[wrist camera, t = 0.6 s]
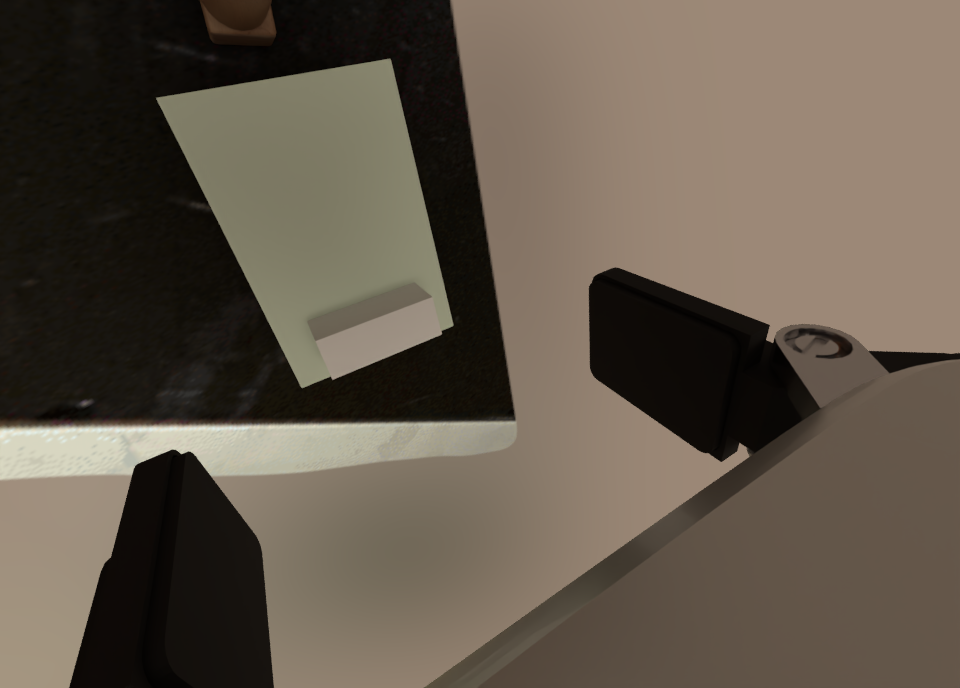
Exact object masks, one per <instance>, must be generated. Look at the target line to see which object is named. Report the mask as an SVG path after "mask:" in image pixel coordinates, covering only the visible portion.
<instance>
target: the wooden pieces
mask: <svg viewBox="0 0 960 688" xmlns="http://www.w3.org/2000/svg"><path fill="white" fill-rule="evenodd" d="M271 2H272V0H200V3H201V7H202V11H203V14H204V18H205V22H206V26H207V29H208V33H209V37H210V39H211V41H212V42H213V43H215V44H222V45H248V46H270V45H272V43H273V41H274V39H275V37H276V28H275V23H274V19H273V14H272V9H271Z"/></svg>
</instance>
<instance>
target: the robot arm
mask: <svg viewBox="0 0 960 688" xmlns="http://www.w3.org/2000/svg"><path fill="white" fill-rule="evenodd" d="M589 322H590V323H589V327H590V328H589V331H590V369H591V372H592V374H593V376H594V377H595V378H596V379H597V380H598V381H600V382H602V383H603V384H604V385H606V386H607V387H609V388H610V389H611V390H613V391H614V392H616V393H617V394H619V395H620V396H621V397H623V398H624V399H626V400H627V401H629V402H630V403H631V404H633V405H634V406H636V407H637V408H639V409H640V410H641V411H643V412H644V413H646V414H647V415H649V416H650V417H651V418H653V419H654V420H656V421H657V422H659V423H660V424H662V425H663V426H664V427H666V428H667V429H669V430H670V431H672V432H673V433H674V434H676V435H677V436H679V437H680V438H682V439H683V440H684V441H686V442H687V443H689V444H690V445H692V446H693V447H694V448H696V449H697V450H699V451H701V452H703V453H709V454H710V455H712V456H713V457H715V458H716V459H718V460H719V461H721V462H722V461H724V460H725V459H727V458H728V457H729V456H731V455H732V454H734V453H735V452H737V449H738V446H739V443H741V444H742V445H744V446H746V447H747V451H748V454H749V456H750V457H749V458H747V459H746V460H745V461H743V462H742V463H740V464H739V465H737V466H736V467H735V468H734V469H732V470H730V471H729V472H728V473H726V474H725V475H723V476H722V477H720V478H719V479H717V480H716V481H715V482H713V483H712V484H710V485H709V486H707V487H706V488H704V489H703V490H702V491H700V492H699V493H698V494H696V495H695V496H693V497H692V498H690V499H689V500H688V501H686V502H685V503H683V504H682V505H680V506H679V507H678V508H676V509H675V510H673V511H672V512H670V513H669V514H668V515H666V516H665V517H663V518H662V519H660V520H659V521H658V522H657V523H655V524H654V525H652V526H651V527H649V528H648V529H646V530H645V531H643V532H642V533H641V534H639V535H638V536H637V537H635V538H634V539H632V540H631V541H629V542H628V543H627V544H625V545H624V546H622V547H621V548H620V549H618V550H617V551H615V552H614V553H613V554H611V555H610V556H608V557H607V558H605V559H604V560H603V561H601V562H600V563H598V564H597V565H595V566H594V567H593V568H591V569H590V570H588V571H587V572H586V573H584V574H583V575H581V576H580V577H578V578H577V579H576V580H574V581H573V582H572V583H570V584H569V585H567V586H566V587H564V588H563V589H562V590H560V591H559V592H557V593H556V594H555V595H553V596H552V597H550V598H549V599H548V600H546V601H545V602H544V603H542V604H541V605H539V606H538V607H536V608H535V609H534V610H532V611H531V612H529V613H528V614H527V615H525V616H524V617H522V618H521V619H520V620H518V621H517V622H515V623H514V624H513V625H511V626H510V627H508V628H507V629H506V630H504V631H503V632H501V633H500V634H499V635H497V636H496V637H494V638H493V639H492V640H490V641H489V642H487V643H486V644H485V645H483V646H482V647H481V648H479V649H478V650H476V651H475V652H473V653H472V654H471V655H469V656H468V657H466V658H465V659H464V660H462V661H461V662H460V663H458V664H457V665H455V666H454V667H452V668H451V669H450V670H448V671H447V672H445V673H444V674H443V675H441V676H440V677H439V678H437V679H436V680H434V681H433V682H431V683H430V684H429V685H427V686H426V687H425V688H960V353H958V354H957V353H955V354H946V353H917V352H914V353H913V352H882V351H880V352H879V351H868V350H867V349H866V348H865V347H864V346H863V345H862V344H861V343H860V342H859V341H857V340H856V339H855V338H853V337H852V336H851V335H848V334H846V333H844V332H842V331H840V330H836V329H833V328H830V327H825V326H819V325H810V324H799V325H790V326H788V327H784V328H782V329H781V330H779V331H778V332H777V333H776V335H775V338H774V342H773V343H771V342H769V341H767V340H766V337H767V334H768V329H769V326H770V325H768V324H766V323H763V322H760V321H758V320H755V319H752V318H750V317H747V316H744V315H742V314H739V313H737V312H734V311H731V310H729V309H726V308H723V307H721V306H718V305H715V304H712V303H710V302H707V301H705V300H702V299H699V298H697V297H694V296H691V295H689V294H686V293H684V292H681V291H678V290H676V289H673V288H670V287H667V286H665V285H662V284H660V283H657V282H654V281H652V280H649V279H646V278H644V277H641V276H638V275H636V274H633V273H631V272H628V271H625V270H622V269H620V268H612V269H609V270H607V271H604V272H602V273H600V274H597V275H596V276H595V277H594V278H593V281H592V283H591V284H590V286H589ZM69 688H274V685H273V673H272V663H271V651H270V639H269V628H268V617H267V604H266V593H265V581H264V571H263V558H262V551H261V546H260V543H259V541H258V539H257V537H256V535H255V534H254V533H253V531H252V530H251V529H250V527H249V526H248V525H247V523H246V522H245V521H244V519H243V518H242V517H241V515H240V514H239V513H238V511H237V510H236V509H235V508H234V506H233V505H232V504H231V502H230V501H229V500H228V499H227V497H226V496H225V494H224V493H223V492H222V490H221V489H220V488H219V487H218V485H217V484H216V483H215V481H214V480H213V479H212V477H211V476H210V475H209V473H208V472H207V471H206V469H205V468H204V467H203V465H202V464H201V463H200V461H199V460H198V459H197V458H196V456H195V455H194V454H193V453H191V452H186V453H184V454H180V453H179V452H178V451H176V450H170V451H168V452H165V453H163V454H161V455H158V456H156V457H153V458H151V459H148V460H146V461H144V462H141V463H139V464H137V465H136V466H135V468H134V471H133V474H132V478H131V482H130V486H129V490H128V494H127V498H126V502H125V505H124V509H123V513H122V518H121V521H120V525H119V529H118V533H117V536H116V540H115V544H114V548H113V552H112V556H111V558H110V559H109V560H108V561H107V562H106V563H105V564H104V566H103V568H102V571H101V573H100V577H99V581H98V584H97V588H96V592H95V596H94V599H93V603H92V607H91V610H90V614H89V617H88V621H87V625H86V628H85V632H84V636H83V639H82V643H81V647H80V650H79V654H78V658H77V661H76V665H75V669H74V672H73V676H72V680H71V683H70V687H69Z"/></svg>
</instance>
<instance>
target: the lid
mask: <svg viewBox="0 0 960 688" xmlns="http://www.w3.org/2000/svg"><path fill="white" fill-rule="evenodd" d="M156 99H157V101H158V103H159V105H160V107H161V109H162V111H163V113H164V115H165V117H166V119H167V121H168V123H169V125H170V127H171V129H172V131H173V133H174V135H175V137H176V139H177V141H178V143H179V145H180V147H181V149H182V151H183V153H184V155H185V157H186V159H187V161H188V163H189V165H190V167H191V169H192V171H193V173H194V175H195V177H196V179H197V181H198V183H199V185H200V187H201V189H202V191H203V193H204V195H205V197H206V199H207V201H208V202H209V204H210V206H211V208H212V210H213V212H214V214H215V216H216V218H217V220H218V222H219V224H220V226H221V228H222V230H223V232H224V234H225V236H226V238H227V240H228V242H229V244H230V246H231V248H232V250H233V252H234V254H235V256H236V258H237V260H238V262H239V264H240V266H241V268H242V270H243V272H244V274H245V276H246V278H247V280H248V282H249V284H250V286H251V288H252V290H253V292H254V294H255V296H256V298H257V300H258V302H259V304H260V306H261V308H262V310H263V312H264V314H265V316H266V318H267V320H268V322H269V324H270V326H271V328H272V330H273V332H274V334H275V336H276V338H277V340H278V342H279V344H280V346H281V348H282V350H283V352H284V354H285V356H286V358H287V360H288V362H289V364H290V366H291V368H292V370H293V372H294V374H295V376H296V378H297V380H298V382H299V384H300V386H301V388H303V387H306V386H308V385H311V384H313V383H315V382H318V381H320V380H323V379H325V378H328V377H330V376H331V377H332V380H333V379H335V378H338V377H340V376H343V375H345V374H347V373H350V372H352V371H355V370H357V369H360V368H362V367H364V366H367V365H369V364H372V363H374V362H376V361H379V360H381V359H384V358H386V357H389V356H391V355H393V354H396V353H398V352H401V351H403V350H405V349H408V348H410V347H413V346H415V345H417V344H420V343H422V342H425V341H427V340H430V339H432V338H434V337H437V336H439V335H442V332H441V331H442V330H444V329H447V328H449V327H452V326H453V322H452V317H451V313H450V309H449V305H448V300H447V296H446V292H445V288H444V283H443V279H442V275H441V271H440V266H439V262H438V258H437V254H436V249H435V245H434V241H433V237H432V232H431V228H430V224H429V220H428V216H427V211H426V207H425V203H424V199H423V194H422V190H421V186H420V182H419V177H418V173H417V169H416V165H415V160H414V156H413V152H412V148H411V143H410V139H409V135H408V131H407V126H406V122H405V118H404V114H403V109H402V105H401V101H400V97H399V93H398V88H397V84H396V80H395V76H394V71H393V67H392V63H391V59H386V60H380V61H374V62H368V63H362V64H356V65H350V66H344V67H338V68H332V69H326V70H320V71H314V72H308V73H302V74H296V75H290V76H284V77H278V78H272V79H266V80H260V81H254V82H249V83H243V84H237V85H231V86H225V87H219V88H213V89H207V90H201V91H195V92H189V93H183V94H177V95H171V96H165V97H159V98H156Z"/></svg>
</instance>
